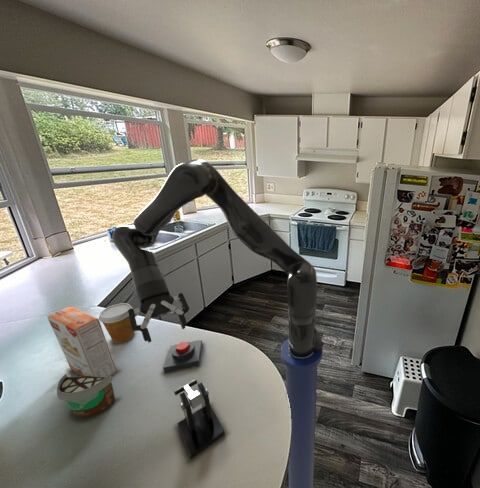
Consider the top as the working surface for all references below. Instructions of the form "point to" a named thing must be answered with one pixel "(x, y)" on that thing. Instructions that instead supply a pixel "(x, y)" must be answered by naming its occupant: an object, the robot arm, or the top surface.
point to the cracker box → (82, 342)
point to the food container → (86, 394)
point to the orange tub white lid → (117, 322)
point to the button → (182, 347)
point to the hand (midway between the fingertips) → (167, 334)
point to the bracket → (199, 424)
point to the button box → (183, 357)
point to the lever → (191, 394)
